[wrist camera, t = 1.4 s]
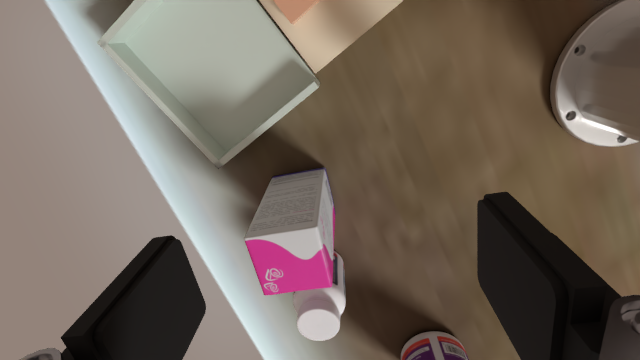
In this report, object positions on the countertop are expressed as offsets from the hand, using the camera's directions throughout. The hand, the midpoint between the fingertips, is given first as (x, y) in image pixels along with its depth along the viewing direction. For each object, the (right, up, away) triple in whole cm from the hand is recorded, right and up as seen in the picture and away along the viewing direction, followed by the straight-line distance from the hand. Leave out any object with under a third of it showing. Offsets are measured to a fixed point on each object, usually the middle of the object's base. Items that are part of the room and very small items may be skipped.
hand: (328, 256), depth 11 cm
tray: (-9, +13, +20) cm, 26 cm away
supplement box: (-2, +1, +25) cm, 25 cm away
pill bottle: (0, -7, +29) cm, 30 cm away
